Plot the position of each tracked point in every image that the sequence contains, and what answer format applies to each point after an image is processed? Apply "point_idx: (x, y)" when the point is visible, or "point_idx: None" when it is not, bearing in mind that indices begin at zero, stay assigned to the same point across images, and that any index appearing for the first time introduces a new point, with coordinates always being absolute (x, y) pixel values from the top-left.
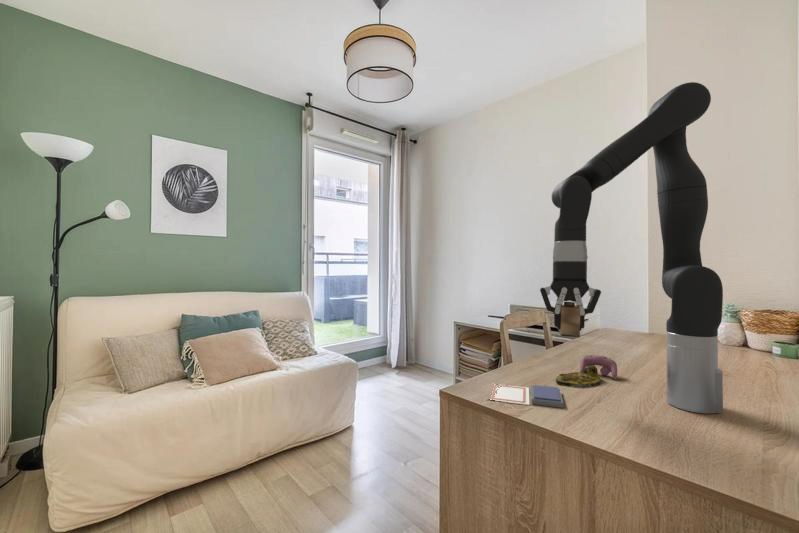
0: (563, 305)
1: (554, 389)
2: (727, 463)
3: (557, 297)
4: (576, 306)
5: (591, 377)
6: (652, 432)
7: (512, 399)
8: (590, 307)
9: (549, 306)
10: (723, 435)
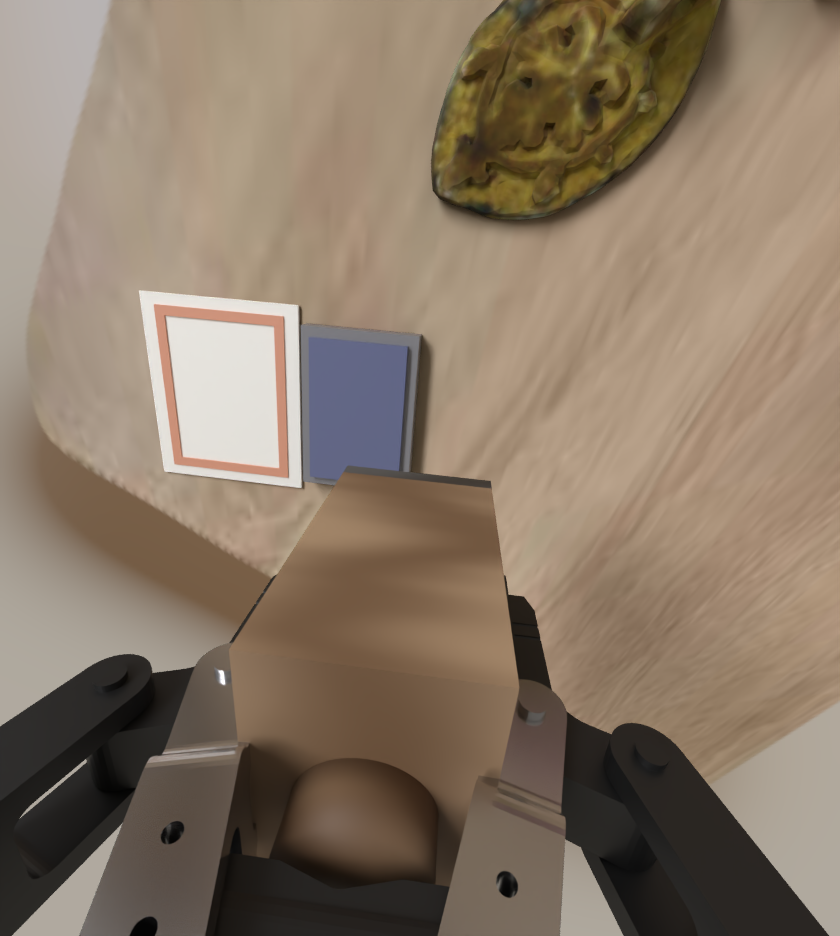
0: (289, 750)
1: (392, 377)
2: (696, 705)
3: (108, 865)
4: (466, 813)
5: (637, 104)
6: (616, 601)
7: (244, 456)
8: (625, 903)
9: (111, 808)
10: (819, 588)
